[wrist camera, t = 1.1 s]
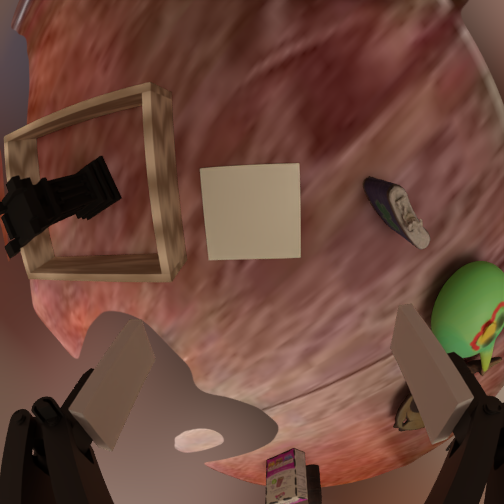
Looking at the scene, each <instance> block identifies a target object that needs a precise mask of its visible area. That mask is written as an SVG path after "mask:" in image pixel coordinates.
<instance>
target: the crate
mask: <svg viewBox="0 0 504 504" xmlns="http://www.w3.org/2000/svg"><path fill="white" fill-rule="evenodd" d="M138 106H142V110H143V129H144V144H145V156H146V167H147V177H148V186H149V195H150V203H151V210H152V218H153V225H154V231H155V238H156V244H157V250H158V254H132V255H98V256H65V257H55V256H54V252H53V248H52V243H51V239H50V235H49V230H48V228H47V229H46V230H44V231H43V232H42V233H41V234H39V235H37V236H36V237H34V238H33V239H32V240H31V241H30V242H29V243H28V244H27V245H26V246H24V247H22V248H20V249H21V254H22V258H23V262H24V265H25V269H26V272H27V275H28V278H29V279H44V280H70V281H107V282H172V281H173V279H174V278H175V276H176V275H177V273H178V272H179V271H180V269H181V268H182V266H183V265H184V264H185V262H186V261H187V256H186V249H185V242H184V234H183V226H182V218H181V209H180V200H179V191H178V181H177V170H176V158H175V145H174V131H173V114H172V92H170V91H168V90H166V89H164V88H162V87H160V86H158V85H156V84H154V83H152V82H148V83H144V84H140V85H136V86H132V87H128V88H124V89H121V90H117V91H114V92H111V93H107V94H104V95H101V96H98V97H95V98H92V99H89V100H86V101H83V102H80V103H78V104H75V105H72V106H70V107H67V108H65V109H62V110H60V111H57V112H55V113H52V114H50V115H48V116H45V117H43V118H41V119H39V120H37V121H34V122H32V123H30V124H28V125H26V126H24V127H22V128H20V129H18V130H16V131H14V132H12V133H10V134H9V135H7V136H5V137H4V148H5V164H6V174H7V182H8V181H9V180H10V179H11V177H14V176H18V175H19V176H20V179H24V178H28V177H30V179H31V181H32V184H33V185H35V184H37V183H38V182H39V181H40V175H39V166H38V155H37V140H36V139H37V138H39V137H42V136H44V135H47V134H49V133H52V132H54V131H57V130H60V129H63V128H65V127H68V126H71V125H74V124H77V123H80V122H83V121H86V120H89V119H93V118H96V117H99V116H103V115H106V114H110V113H114V112H117V111H121V110H125V109H129V108H134V107H138Z"/></svg>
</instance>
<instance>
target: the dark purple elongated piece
mask: <svg viewBox="0 0 504 504" xmlns="http://www.w3.org/2000/svg"><path fill="white" fill-rule="evenodd" d="M363 188H364V191H365V194H366V195H367V197H368V200H369V201H370V203H371V205H372V206H373V208H374V209H375V211H376V212H377V213H378V214H379V216H380V217H381V218H382V219H383V220H384V222H385V223H386V224H387V225H388V226H389V227H390V228H391V229H392V230H394V231H396V232H397V233H398V234H400V235H401V236H402V237H404V238H405V239H406V240H407V241H409V242H410V243H411V244H412V245H414V246H415V247H416V248H418V249H424V248H426V247H427V246H428V244H429V241H430V236H429V233H428V232H427V231H426V229H425V228H424V227H423V223H422V219H420V221H419V219H418V218H417V216H416V215H415V213H414V211H413V209H412V207H411V205H410V202H409V199H408V195H407V193H406V191H405V189H404V188H402V187H401V186H400V185H397V184H394V183H391V182H387V181H384V180H380V179H376V178H373V177H370V176H369V177H368V178H366V179H365V180H364V182H363Z"/></svg>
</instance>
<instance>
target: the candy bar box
mask: <svg viewBox="0 0 504 504" xmlns="http://www.w3.org/2000/svg"><path fill="white" fill-rule="evenodd" d="M307 499H308V492H307V479H306V464H305V453H304V452H302V451H300V450H297V449H295V448H293V449H291V450H289V451H287V452H284V453H282V454H280V455H278V456H275V457H273V458H271V459H268V460H267V465H266V502H265V504H294V503H297V502H300V501H304V500H307Z"/></svg>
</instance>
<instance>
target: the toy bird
mask: <svg viewBox="0 0 504 504" xmlns="http://www.w3.org/2000/svg"><path fill="white" fill-rule="evenodd" d="M503 327H504V273H503V272H502V270H501V269H499V268H498V267H497V266H495V265H494V264H492V263H489V262H485V261H475V262H471V263H468V264H466V265H464V266H463V267H461V268H460V269H458V270H457V271H456V272H455V273H454V274H453V275H452V276H451V277H450V278H449V279H448V280H447V282H446V283H445V284H444V286H443V287H442V289H441V291H440V293H439V295H438V297H437V299H436V301H435V304H434V307H433V311H432V317H431V329H432V332H433V334H434V335H435V337H436V338H437V340H438V341H439V343H440V344H441V346H442V347H443V349H444V350H445V352H446V353H451V352H455V353H456V354H458V355H459V356H460V357H462V358H466V357H471V356H473V355H476V354H478V353H480V357H481V364H482V369H483V371H484V372H485V371H486V370H487V369H488V367H489V364H490V360H491V356H492V352H493V347H494V343H495V339H496V337H497V336H498V335H499V333H500V332H501V330H502V329H503Z"/></svg>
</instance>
